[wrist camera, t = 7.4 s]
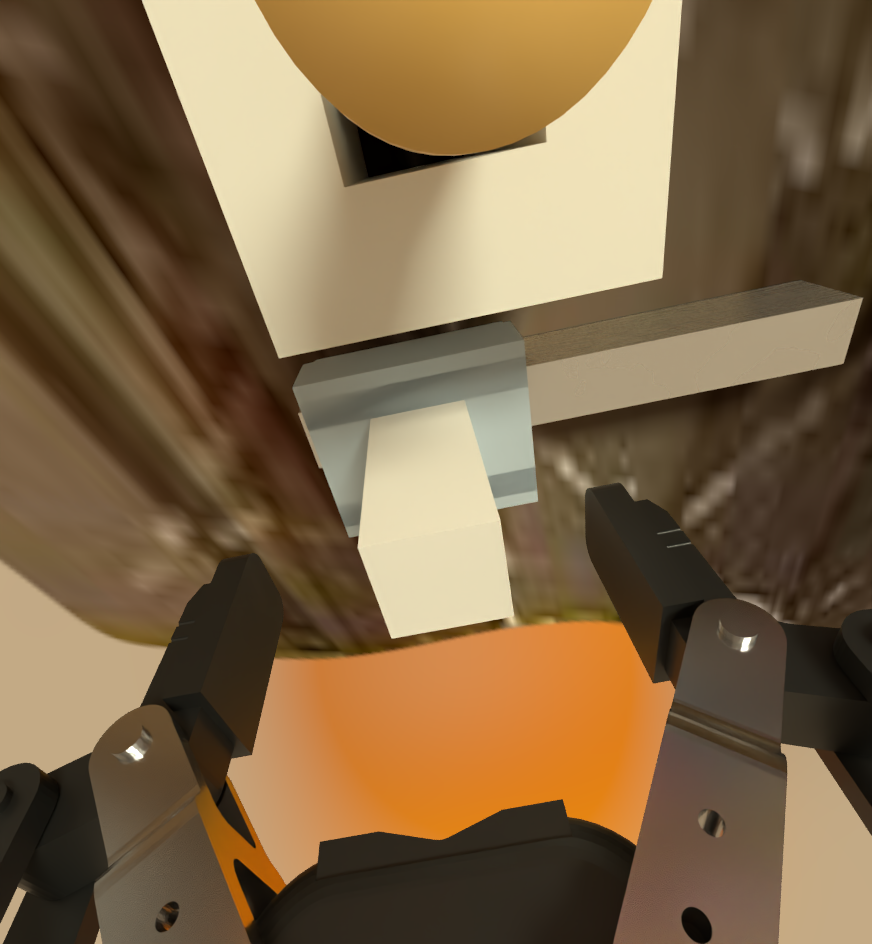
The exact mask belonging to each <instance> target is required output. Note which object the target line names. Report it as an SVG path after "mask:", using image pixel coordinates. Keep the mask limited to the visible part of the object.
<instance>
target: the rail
mask: <svg viewBox="0 0 872 944" xmlns="http://www.w3.org/2000/svg"><path fill="white" fill-rule="evenodd" d="M862 300H863V298H862V297H859V296H855V295H851V294H848V293H844V292H841V291H837V290H834V289H830V288H827V287H823V286H819V285H816V284H812V283H809V282H805V281H802V280H799V281H794V282H789V283H784V284H780V285H775V286H770V287H765V288H760V289H755V290H751V291H746V292H741V293H736V294H731V295H726V296H722V297H717V298H712V299H707V300H702V301H698V302H693V303H688V304H683V305H678V306H673V307H669V308H664V309H659V310H654V311H649V312H644V313H640V314H635V315H630V316H625V317H620V318H616V319H611V320H606V321H601V322H596V323H591V324H587V325H582V326H577V327H572V328H567V329H562V330H558V331H553V332H548V333H543V334H538V335H533V336H529V337H524V338H523V339H524V344H525V356H526V368H527V379H528V391H529V403H530V414H531V426H534V425H539V424H544V423H549V422H554V421H559V420H564V419H569V418H574V417H579V416H584V415H589V414H594V413H599V412H604V411H609V410H614V409H619V408H624V407H629V406H634V405H639V404H644V403H649V402H654V401H659V400H664V399H669V398H674V397H679V396H684V395H689V394H694V393H699V392H704V391H709V390H714V389H719V388H724V387H729V386H734V385H739V384H744V383H749V382H754V381H759V380H765V379H770V378H775V377H780V376H785V375H790V374H795V373H800V372H805V371H810V370H815V369H820V368H825V367H830V366H835V365H840V364H843V363H844V360H845V356H846V353H847V350H848V346H849V343H850V340H851V336H852V333H853V330H854V326H855V323H856V320H857V316H858V313H859V310H860V306H861V303H862ZM298 415H299V417H300V420H301V422H302V425H303V428H304V430H305V433H306V435H307V438H308V441H309V443H310V446H311V448H312V451H313V454H314V456H315V459H316V461H317V464H318V467H319V468H322V465H321V462H320V460H319V457H318V455H317V452H316V449H315V447H314V444H313V441H312V439H311V436H310V434H309V431H308V428H307V426H306V423H305V420H304V418H303V415H302V413H301V410H299V412H298Z"/></svg>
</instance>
